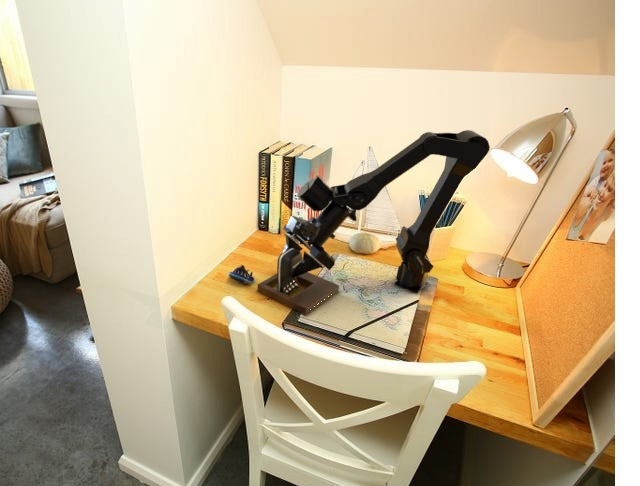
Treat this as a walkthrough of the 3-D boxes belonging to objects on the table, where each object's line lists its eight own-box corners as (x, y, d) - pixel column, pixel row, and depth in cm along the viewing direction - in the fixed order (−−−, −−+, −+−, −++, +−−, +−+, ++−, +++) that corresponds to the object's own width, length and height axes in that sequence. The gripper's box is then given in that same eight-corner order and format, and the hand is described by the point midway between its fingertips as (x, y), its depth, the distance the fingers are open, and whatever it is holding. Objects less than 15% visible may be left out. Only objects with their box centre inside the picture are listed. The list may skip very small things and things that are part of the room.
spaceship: (256, 273, 113) (255, 260, 109) (253, 289, 108) (252, 276, 105) (231, 272, 114) (229, 259, 111) (227, 287, 110) (224, 274, 106)
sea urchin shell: (378, 253, 117) (361, 232, 117) (357, 265, 123) (341, 245, 123) (386, 241, 124) (371, 221, 124) (366, 253, 130) (351, 234, 129)
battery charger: (287, 299, 102) (289, 260, 96) (275, 294, 105) (276, 255, 98) (302, 287, 107) (305, 249, 101) (290, 282, 109) (292, 245, 103)
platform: (338, 292, 104) (339, 285, 103) (305, 316, 96) (306, 308, 95) (290, 271, 114) (291, 265, 113) (257, 291, 106) (257, 284, 105)
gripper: (290, 192, 102) (251, 239, 105) (328, 219, 87) (281, 272, 90) (315, 216, 108) (277, 260, 111) (354, 245, 93) (310, 294, 96)
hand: (285, 270), depth 102 cm, fingers open, 7 cm apart
